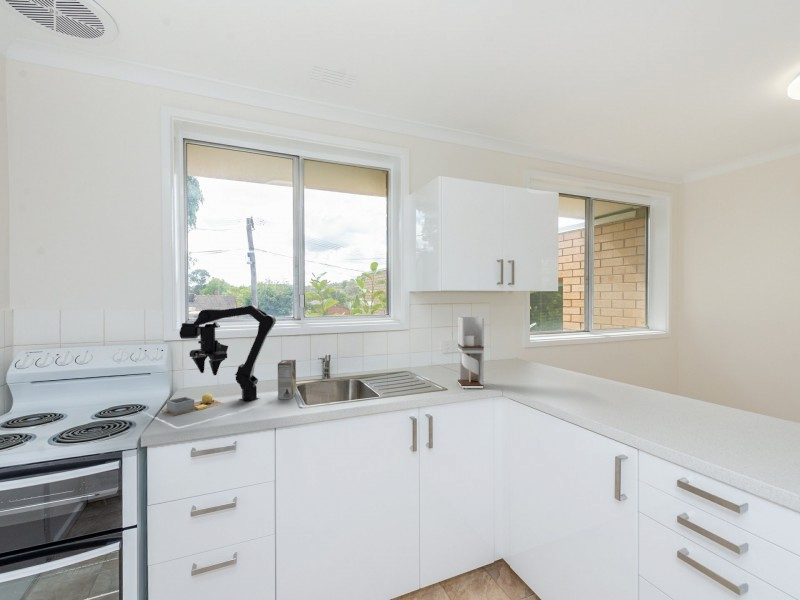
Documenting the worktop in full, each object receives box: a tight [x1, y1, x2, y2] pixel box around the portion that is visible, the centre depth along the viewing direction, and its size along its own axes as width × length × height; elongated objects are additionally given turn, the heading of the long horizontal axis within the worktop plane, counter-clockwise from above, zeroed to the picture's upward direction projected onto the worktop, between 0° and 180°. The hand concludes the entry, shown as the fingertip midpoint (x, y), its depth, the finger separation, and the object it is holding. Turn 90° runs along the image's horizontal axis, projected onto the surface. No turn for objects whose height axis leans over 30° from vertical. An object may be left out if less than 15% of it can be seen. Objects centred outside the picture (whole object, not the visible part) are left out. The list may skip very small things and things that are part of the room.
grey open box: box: [166, 396, 195, 414], centre depth 148 cm, size 7×7×4 cm
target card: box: [194, 404, 209, 411], centre depth 151 cm, size 4×4×1 cm
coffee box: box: [277, 359, 297, 400], centre depth 171 cm, size 9×6×16 cm
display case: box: [457, 316, 485, 386], centre depth 190 cm, size 11×11×35 cm
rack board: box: [160, 399, 225, 417], centre depth 153 cm, size 12×20×1 cm, turn 144°
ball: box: [201, 393, 213, 403], centre depth 158 cm, size 4×4×4 cm
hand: (208, 374), depth 161 cm, fingers open, 9 cm apart
